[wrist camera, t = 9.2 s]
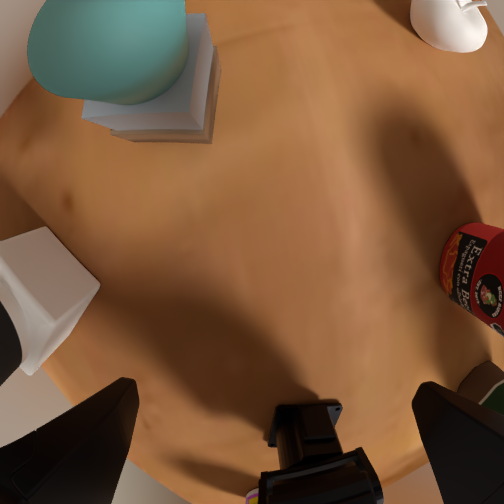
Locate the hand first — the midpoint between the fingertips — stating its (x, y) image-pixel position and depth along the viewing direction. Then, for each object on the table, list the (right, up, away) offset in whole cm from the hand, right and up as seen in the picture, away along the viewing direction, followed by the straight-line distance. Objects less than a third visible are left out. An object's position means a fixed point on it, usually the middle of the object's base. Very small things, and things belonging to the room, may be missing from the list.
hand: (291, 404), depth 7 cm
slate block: (-6, +13, +6) cm, 16 cm away
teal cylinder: (-6, +12, +1) cm, 14 cm away
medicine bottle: (-18, +2, +13) cm, 22 cm away
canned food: (+19, +4, +13) cm, 23 cm away
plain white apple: (+15, +24, +8) cm, 30 cm away
